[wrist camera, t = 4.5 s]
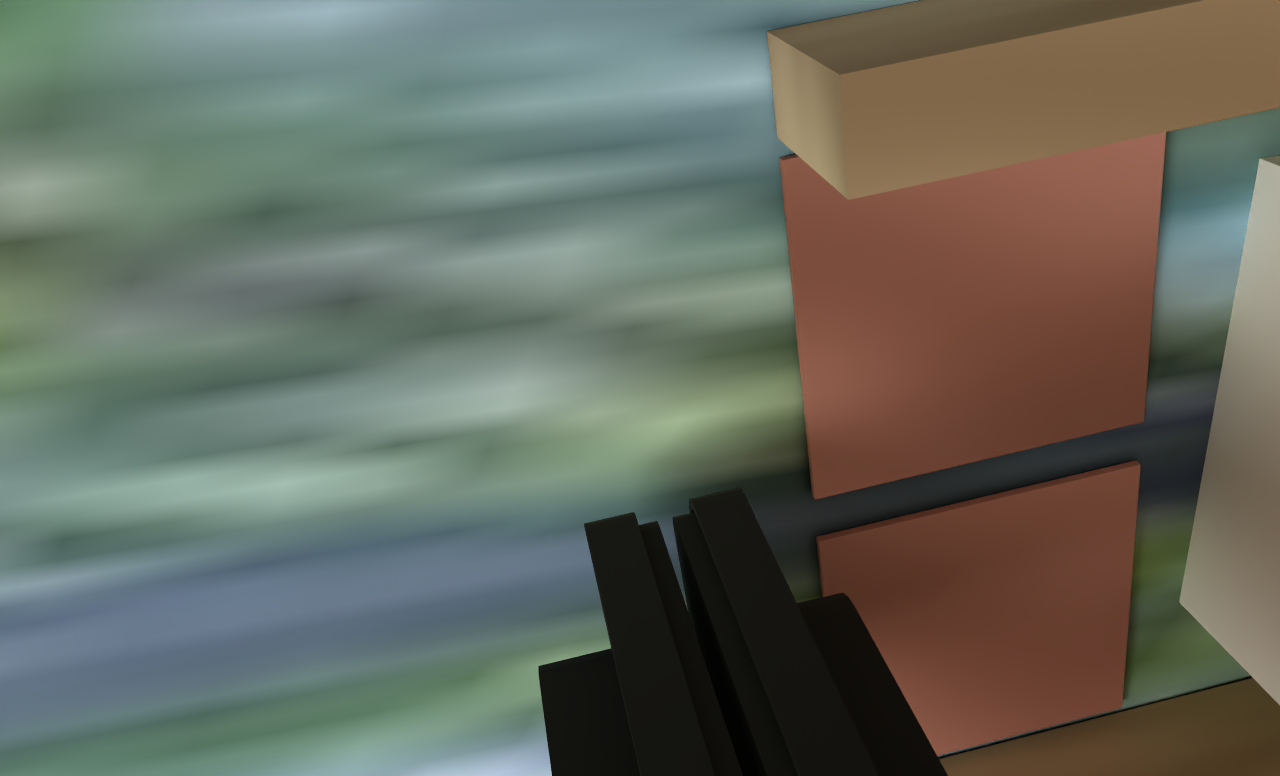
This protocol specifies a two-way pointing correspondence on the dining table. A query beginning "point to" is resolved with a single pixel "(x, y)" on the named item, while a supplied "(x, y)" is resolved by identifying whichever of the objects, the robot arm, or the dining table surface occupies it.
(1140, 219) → the finger lane
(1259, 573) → the cream block
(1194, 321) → the dining table surface
